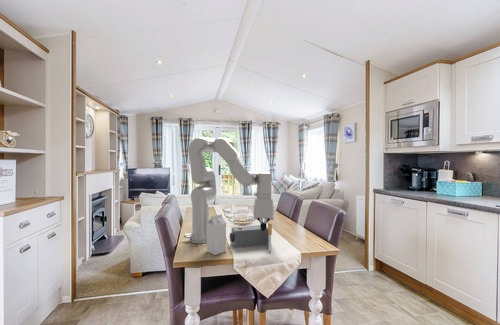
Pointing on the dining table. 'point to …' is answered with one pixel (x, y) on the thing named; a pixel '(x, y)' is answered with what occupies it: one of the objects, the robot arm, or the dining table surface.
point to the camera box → (249, 236)
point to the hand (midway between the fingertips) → (263, 230)
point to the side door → (269, 235)
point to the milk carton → (216, 235)
